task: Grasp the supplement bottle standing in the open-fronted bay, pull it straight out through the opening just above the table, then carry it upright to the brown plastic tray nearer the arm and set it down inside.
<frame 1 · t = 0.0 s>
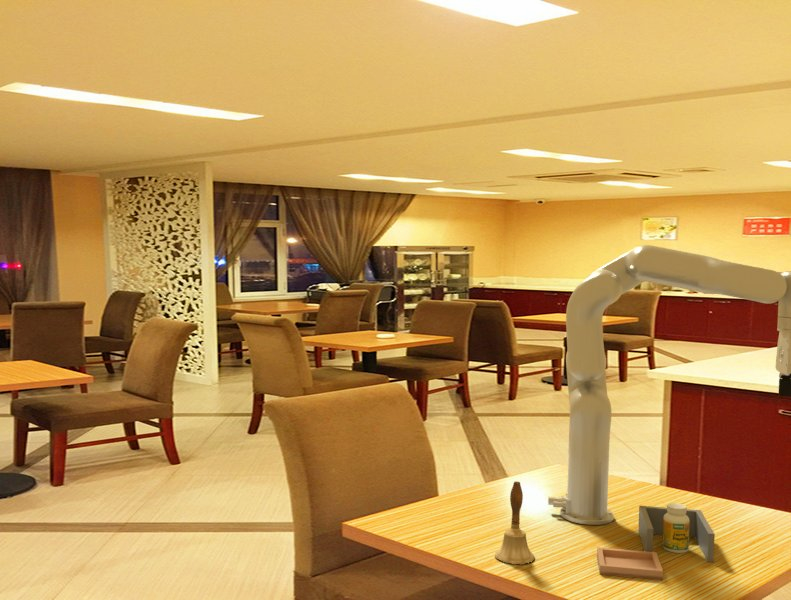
bay: (675, 548, 171), on the table
tray: (628, 567, 160), on the table
supplement bottle: (675, 550, 171), on the table
hand bell: (514, 558, 165), on the table
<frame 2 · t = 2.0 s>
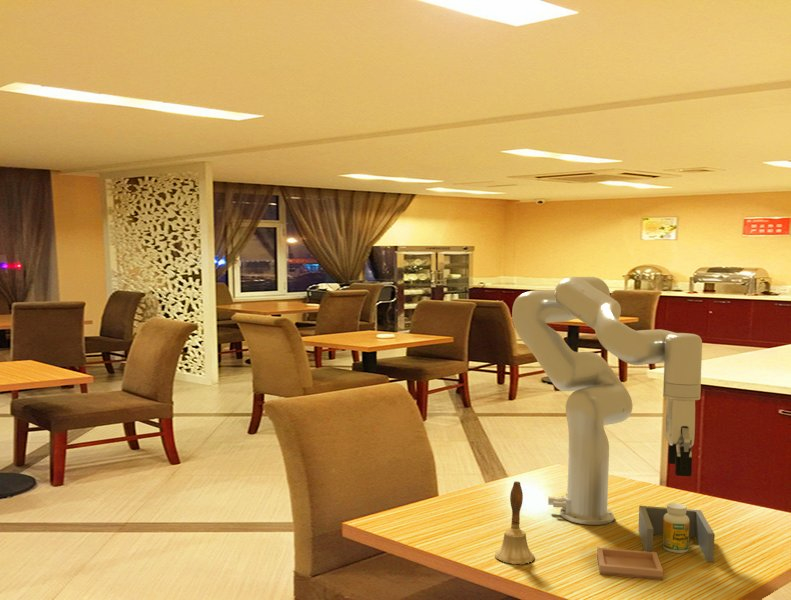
hand: (679, 469, 170), 18 cm above the table, tool pointing down, fingers open, 9 cm apart
nothing on the table moved.
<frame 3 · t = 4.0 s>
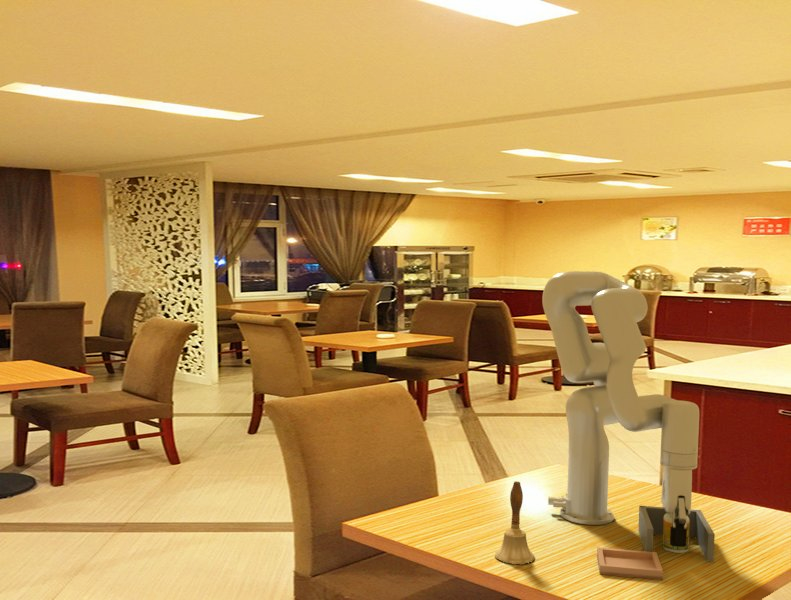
hand: (675, 539, 171), 2 cm above the table, tool pointing down, fingers closed on supplement bottle, 5 cm apart
supplement bottle: (675, 550, 171), on the table, touching gripper
everything else where it was.
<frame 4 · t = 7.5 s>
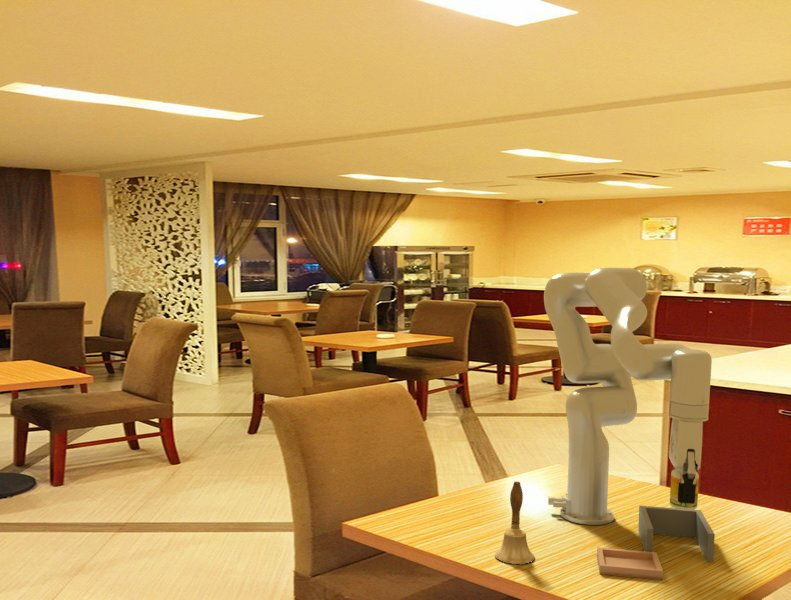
hand: (683, 496, 161), 14 cm above the table, tool pointing down, fingers closed on supplement bottle, 5 cm apart
supplement bottle: (683, 507, 161), point 12 cm above the table, touching gripper
everything else where it was.
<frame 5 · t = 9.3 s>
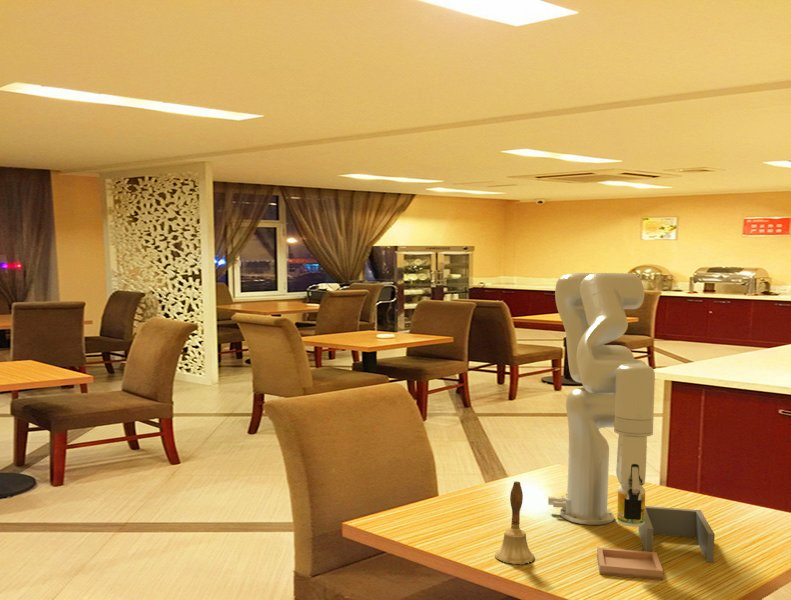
hand: (630, 513, 159), 11 cm above the table, tool pointing down, fingers closed on supplement bottle, 5 cm apart
supplement bottle: (630, 524, 160), point 9 cm above the table, touching gripper
everything else where it was.
when the fingers open (4 cm above the table, at t = 11.0 s): supplement bottle drops 1 cm, resting on tray.
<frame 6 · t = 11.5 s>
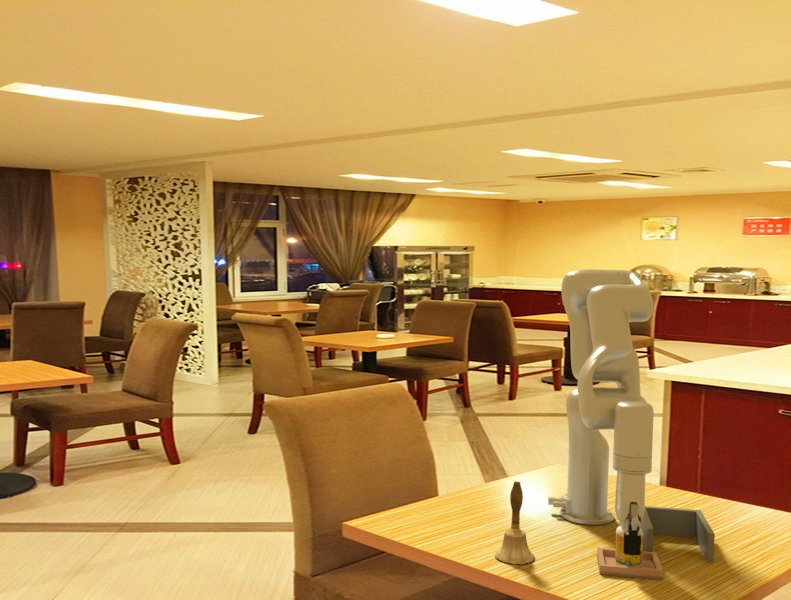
hand: (629, 545, 160), 5 cm above the table, tool pointing down, fingers open, 9 cm apart
supplement bottle: (628, 565, 160), resting on tray
everything else where it was.
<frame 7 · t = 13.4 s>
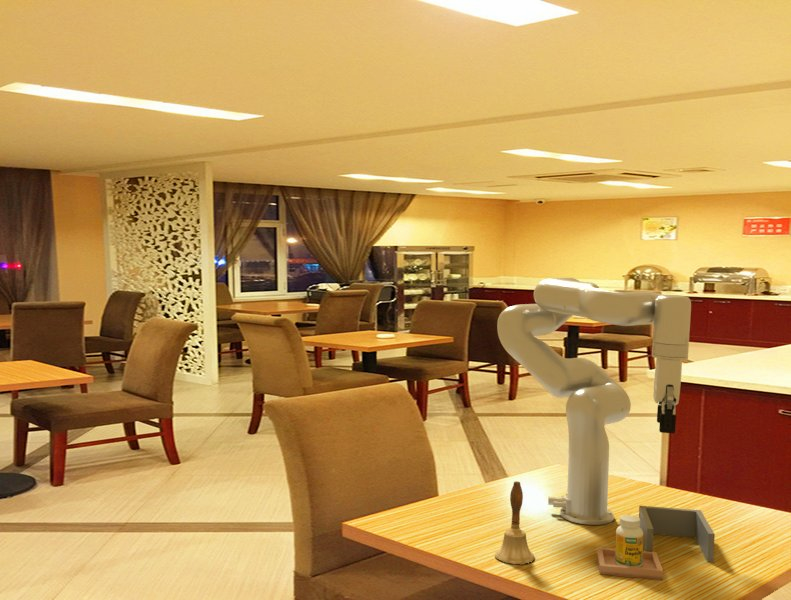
hand: (665, 427, 174), 26 cm above the table, tool pointing down, fingers open, 9 cm apart
nothing on the table moved.
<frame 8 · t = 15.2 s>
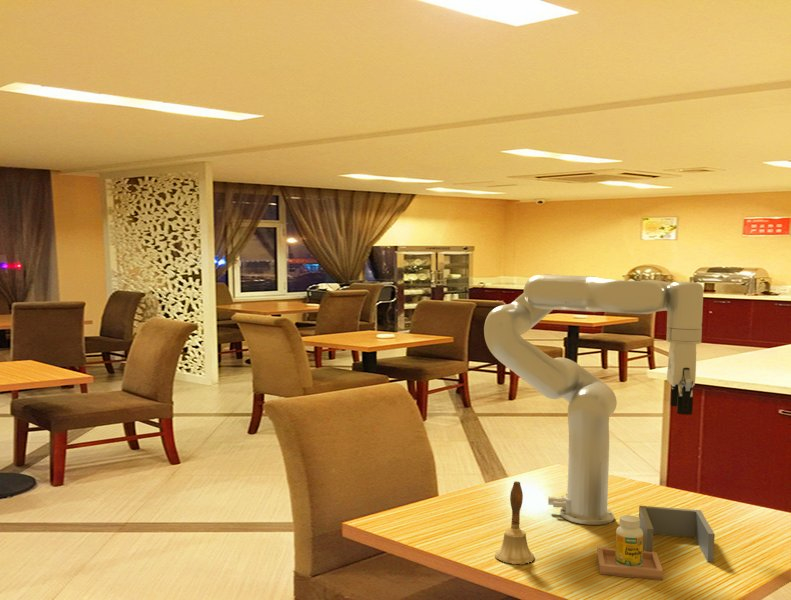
hand: (681, 410, 181), 28 cm above the table, tool pointing down, fingers open, 9 cm apart
nothing on the table moved.
at the end: supplement bottle inside the target area on the tray (0.1 cm from its centre), point 0.4 cm above the tray's base; supplement bottle tilted 0°; the gripper is holding nothing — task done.
